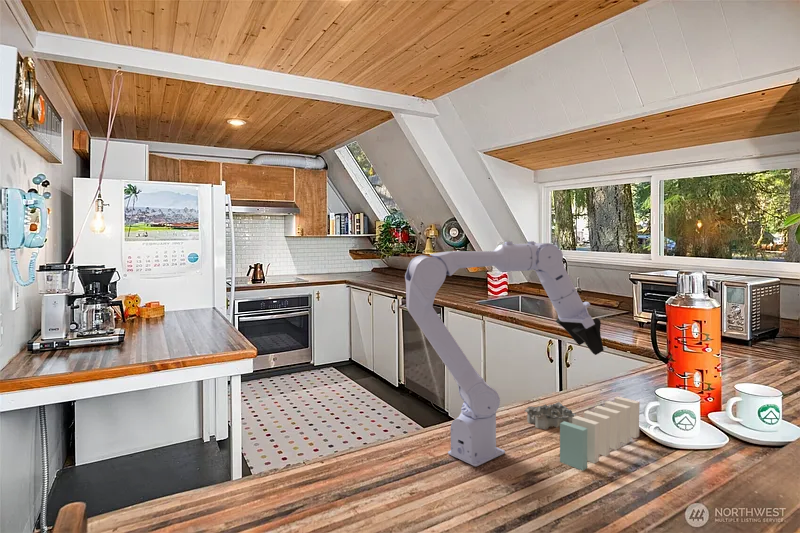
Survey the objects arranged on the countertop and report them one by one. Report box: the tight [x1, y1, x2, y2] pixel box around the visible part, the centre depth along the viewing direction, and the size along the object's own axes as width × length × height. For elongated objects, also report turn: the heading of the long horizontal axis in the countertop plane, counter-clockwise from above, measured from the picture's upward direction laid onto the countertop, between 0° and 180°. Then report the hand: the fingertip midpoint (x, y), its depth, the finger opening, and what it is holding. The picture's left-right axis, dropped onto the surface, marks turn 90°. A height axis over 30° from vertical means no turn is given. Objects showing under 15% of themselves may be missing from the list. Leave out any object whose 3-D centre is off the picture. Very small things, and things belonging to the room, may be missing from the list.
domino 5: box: [604, 400, 631, 445], centre depth 108 cm, size 2×5×8 cm, turn 40°
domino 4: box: [593, 405, 621, 451], centre depth 105 cm, size 2×5×8 cm, turn 40°
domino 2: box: [572, 415, 600, 464], centre depth 100 cm, size 2×5×8 cm, turn 40°
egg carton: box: [524, 401, 577, 430], centre depth 119 cm, size 11×8×4 cm
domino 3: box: [583, 409, 611, 457], centre depth 102 cm, size 2×5×8 cm, turn 40°
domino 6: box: [614, 396, 641, 439], centre depth 111 cm, size 2×5×8 cm, turn 40°
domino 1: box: [559, 421, 588, 472], centre depth 97 cm, size 2×5×8 cm, turn 40°
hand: (590, 347), depth 105 cm, fingers open, 7 cm apart
